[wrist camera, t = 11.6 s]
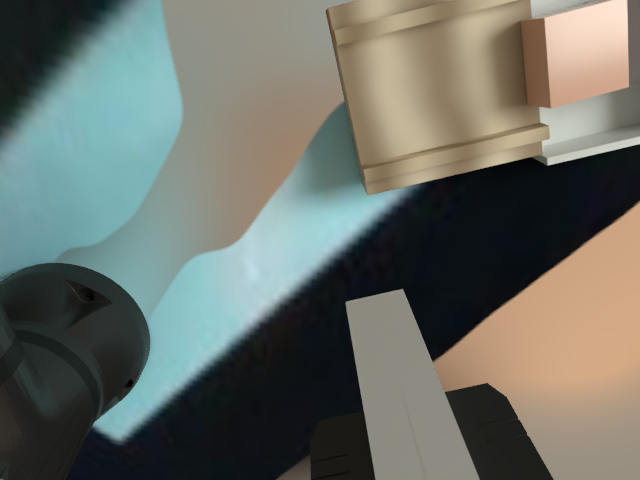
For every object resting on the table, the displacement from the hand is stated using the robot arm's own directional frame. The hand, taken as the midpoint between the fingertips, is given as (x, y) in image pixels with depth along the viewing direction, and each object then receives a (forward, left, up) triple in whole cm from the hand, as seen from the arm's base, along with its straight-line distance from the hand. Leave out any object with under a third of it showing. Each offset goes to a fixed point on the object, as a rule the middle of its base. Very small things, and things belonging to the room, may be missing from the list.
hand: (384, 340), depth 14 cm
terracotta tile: (+18, +2, -29) cm, 34 cm away
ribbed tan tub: (+9, +2, -32) cm, 34 cm away
